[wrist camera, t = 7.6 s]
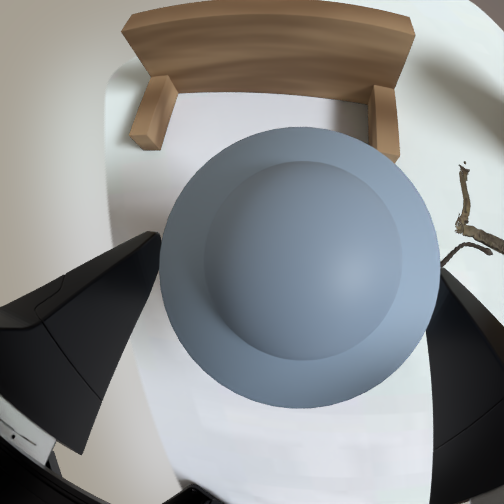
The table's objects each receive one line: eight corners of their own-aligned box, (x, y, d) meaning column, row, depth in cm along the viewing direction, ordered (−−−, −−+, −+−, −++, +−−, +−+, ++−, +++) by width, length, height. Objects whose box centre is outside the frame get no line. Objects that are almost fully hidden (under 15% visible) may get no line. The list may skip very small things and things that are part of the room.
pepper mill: (297, 345, 17) (314, 509, 3) (234, 290, 18) (56, 263, 4) (352, 281, 17) (532, 228, 3) (289, 227, 18) (279, 30, 4)
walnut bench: (388, 171, 18) (432, 106, 11) (143, 150, 21) (86, 93, 13) (384, 89, 19) (409, 17, 12) (169, 77, 22) (132, 14, 14)
